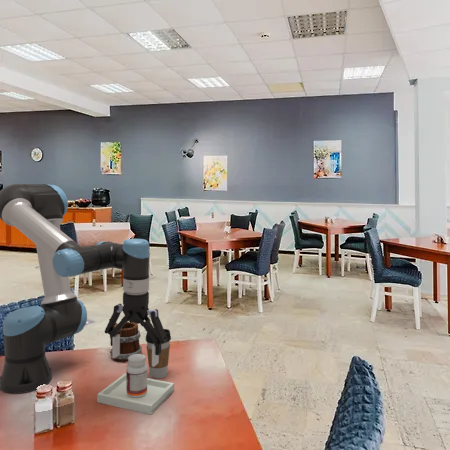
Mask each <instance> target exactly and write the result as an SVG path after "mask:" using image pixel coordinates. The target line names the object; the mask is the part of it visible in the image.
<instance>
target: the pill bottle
mask: <svg viewBox="0 0 450 450" xmlns="http://www.w3.org/2000/svg"><path fill="white" fill-rule="evenodd" d="M146 358H147V357H146V355H145V354H142V353H141V354H133V355H131V356H129V357H128V362H127V363H128V365H127V366H126V369H125V370H126V373H125V374H126V377H127V395H128V396H130V397H133V398H138V397H142V396H144V395H145V394H146V393H147V378H148V365H147V363H146V361H147V359H146Z"/></svg>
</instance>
